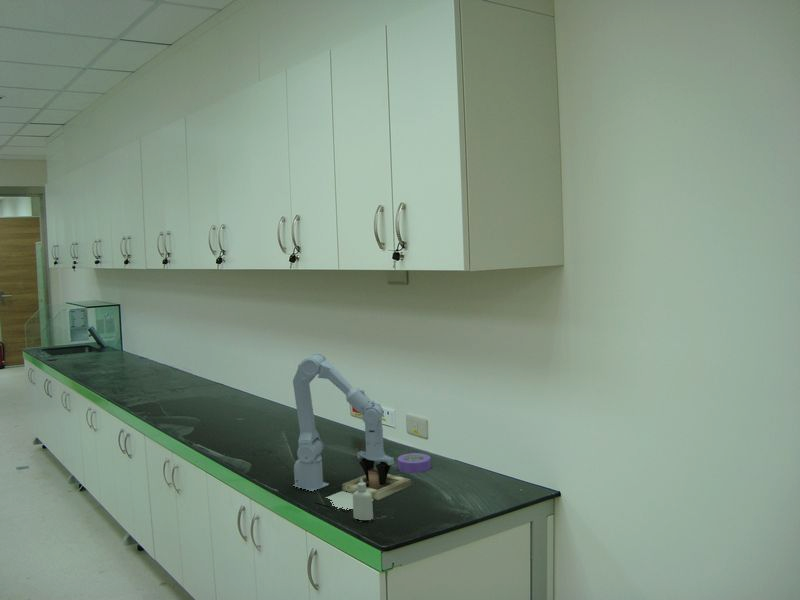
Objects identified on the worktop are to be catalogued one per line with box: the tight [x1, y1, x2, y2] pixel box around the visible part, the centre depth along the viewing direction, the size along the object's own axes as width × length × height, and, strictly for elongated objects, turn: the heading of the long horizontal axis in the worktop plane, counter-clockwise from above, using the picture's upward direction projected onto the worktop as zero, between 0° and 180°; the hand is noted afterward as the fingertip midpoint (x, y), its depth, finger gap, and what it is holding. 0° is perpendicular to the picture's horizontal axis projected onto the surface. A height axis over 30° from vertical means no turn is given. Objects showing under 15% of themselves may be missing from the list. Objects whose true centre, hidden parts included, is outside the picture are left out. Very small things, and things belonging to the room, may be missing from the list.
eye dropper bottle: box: [352, 479, 374, 521], centre depth 202 cm, size 4×6×12 cm
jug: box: [368, 467, 385, 490], centre depth 230 cm, size 5×7×6 cm
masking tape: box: [397, 452, 432, 474], centre depth 248 cm, size 12×12×4 cm
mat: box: [325, 490, 375, 510], centre depth 218 cm, size 14×12×1 cm
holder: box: [341, 473, 412, 501], centre depth 229 cm, size 16×16×2 cm
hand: (376, 482), depth 229 cm, fingers closed on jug, 5 cm apart
